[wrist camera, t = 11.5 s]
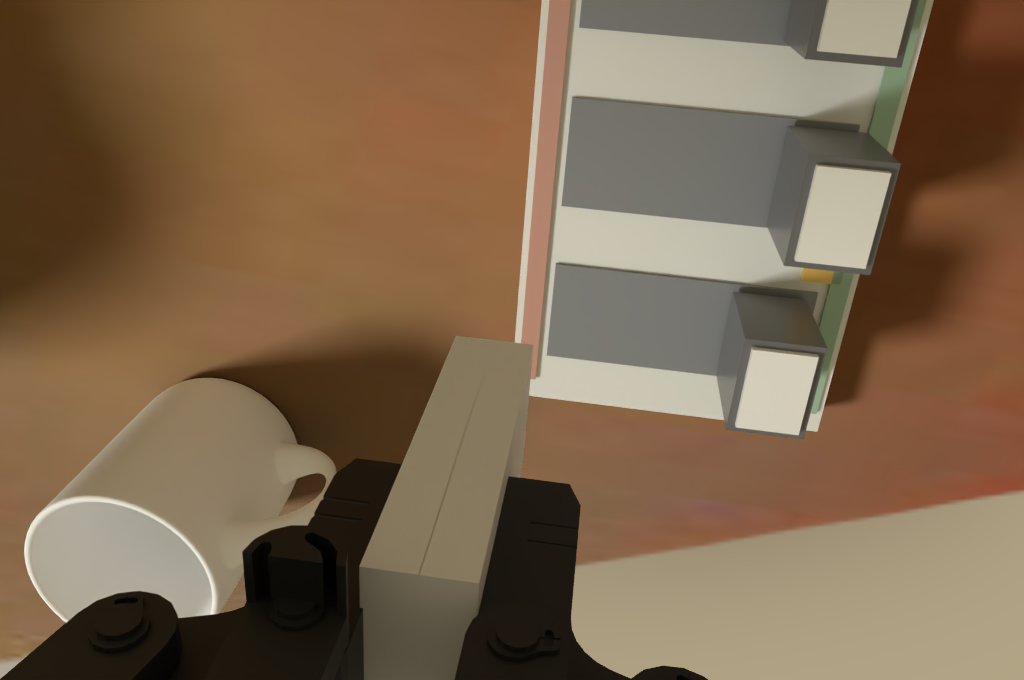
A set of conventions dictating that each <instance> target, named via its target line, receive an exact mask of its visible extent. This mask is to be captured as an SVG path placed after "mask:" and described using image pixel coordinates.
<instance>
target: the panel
mask: <svg viewBox="0 0 1024 680" xmlns="http://www.w3.org/2000/svg"><path fill="white" fill-rule="evenodd" d="M933 2H934V0H919V3H918V7H917V11H916V15H915V18H914V22H913V26H912V30H911V34H910V37H909V41H908V45H907V49H906V53H905V56H904V60H903V64H902V68H899V67H888V66H876V65H865V64H854V63H843V62H832V61H821V60H810V59H804V58H803V57H802V56H801V55H799V54H798V53H797V52H796V51H795V50H794V49H792V48H791V47H790V46H789V45H788V44H786V43H785V42H784V41H783V40H784V35H785V30H786V25H787V20H788V15H789V10H790V5H791V0H542V5H541V18H540V31H539V43H538V56H537V69H536V81H535V94H534V106H533V119H532V132H531V144H530V157H529V170H528V182H527V195H526V208H525V220H524V233H523V245H522V258H521V271H520V283H519V296H518V309H517V321H516V334H515V343H522V344H531V345H534V346H533V357H532V368H531V379H530V390H529V396H536V397H544V398H552V399H560V400H568V401H576V402H584V403H592V404H600V405H608V406H616V407H624V408H632V409H640V410H648V411H656V412H664V413H672V414H680V415H688V416H696V417H704V418H712V419H720V420H724V416H723V411H722V405H721V399H720V394H719V388H718V382H717V377H716V374H717V369H718V364H719V359H720V354H721V349H722V344H723V339H724V334H725V329H726V324H727V319H728V314H729V309H730V304H731V299H732V294H733V292H741V293H750V294H759V295H768V296H777V297H786V298H795V299H803V300H806V301H807V303H808V305H809V307H810V310H811V312H812V314H813V316H814V319H815V321H816V323H817V325H818V328H819V330H820V332H821V334H822V337H823V339H824V341H825V343H826V346H827V348H828V349H827V353H826V356H825V360H824V364H823V368H822V372H821V375H820V379H819V383H818V387H817V391H816V394H815V398H814V402H813V406H812V410H811V413H810V417H809V421H808V425H807V429H806V430H808V431H816V432H817V431H818V427H819V423H820V420H821V416H822V412H823V409H824V405H825V401H826V398H827V394H828V390H829V386H830V383H831V379H832V375H833V372H834V368H835V364H836V361H837V357H838V353H839V349H840V346H841V342H842V338H843V335H844V331H845V327H846V324H847V320H848V316H849V312H850V309H851V305H852V301H853V298H854V294H855V290H856V287H857V283H858V279H859V275H860V274H854V273H845V272H836V271H827V270H818V269H808V268H799V267H790V266H784V265H783V263H782V261H781V258H780V256H779V253H778V251H777V249H776V246H775V244H774V242H773V239H772V237H771V235H770V232H769V230H768V228H767V221H768V216H769V211H770V207H771V202H772V197H773V192H774V188H775V183H776V178H777V174H778V169H779V164H780V159H781V155H782V150H783V145H784V141H785V136H786V131H787V126H788V125H789V126H800V127H810V128H821V129H831V130H841V131H852V132H862V133H869V134H870V135H871V136H872V137H873V138H874V139H875V140H876V141H878V142H879V143H880V144H881V145H882V146H883V147H884V148H885V149H886V150H887V151H888V152H889V153H890V154H891V155H892V153H893V150H894V146H895V142H896V139H897V135H898V131H899V128H900V124H901V120H902V116H903V113H904V109H905V105H906V102H907V98H908V94H909V91H910V87H911V83H912V79H913V76H914V72H915V68H916V65H917V61H918V57H919V54H920V50H921V46H922V42H923V39H924V35H925V31H926V28H927V24H928V20H929V17H930V13H931V9H932V5H933Z"/></svg>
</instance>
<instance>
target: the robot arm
mask: <svg viewBox="0 0 1024 680" xmlns="http://www.w3.org/2000/svg"><path fill="white" fill-rule="evenodd" d="M533 346H534V345H531V344H522V343H514V342H506V341H497V340H489V339H480V338H472V337H463V336H456V337H455V339H454V341H453V344H452V346H451V349H450V351H449V353H448V356H447V358H446V360H445V363H444V365H443V368H442V370H441V372H440V375H439V377H438V380H437V382H436V384H435V387H434V389H433V392H432V394H431V396H430V399H429V401H428V403H427V406H426V408H425V411H424V413H423V415H422V418H421V420H420V423H419V425H418V427H417V430H416V432H415V435H414V437H413V439H412V442H411V444H410V446H409V449H408V451H407V454H406V456H405V458H404V461H403V463H402V464H395V463H388V462H380V461H372V460H365V459H357V458H356V459H355V460H354V461H352V462H351V463H350V464H348V465H347V466H346V467H344V468H343V469H342V470H340V471H339V472H338V473H336V474H335V475H334V477H333V479H332V480H331V482H330V484H329V486H328V488H327V490H326V492H325V494H324V495H323V500H321V501H320V503H319V505H318V507H317V509H316V511H315V512H314V517H312V518H311V520H310V522H309V524H308V525H290V526H286V527H282V528H278V529H274V530H270V531H268V532H267V533H265V534H263V535H261V536H259V537H257V538H255V539H254V540H253V541H252V542H251V543H250V544H249V545H248V546H247V547H246V548H245V549H244V550H243V551H242V556H243V567H244V578H245V589H246V600H247V602H246V604H245V606H244V607H242V608H239V609H236V610H234V611H230V612H224V613H219V614H213V615H203V616H194V617H185V618H178V615H177V613H176V611H175V609H174V607H173V605H172V603H171V602H170V601H168V600H167V599H165V598H163V597H162V596H160V595H159V594H154V593H149V592H143V591H133V592H124V593H117V594H114V595H111V596H108V597H105V598H103V599H100V600H97V601H95V602H94V603H92V604H91V605H89V606H88V607H86V608H84V609H83V610H81V611H80V612H78V613H77V614H76V615H75V616H74V617H72V618H71V619H70V620H69V621H68V622H67V623H65V624H64V625H63V626H62V627H61V628H60V629H58V630H57V631H56V632H55V633H54V634H53V635H51V636H50V637H49V638H48V639H47V640H46V641H44V642H43V643H42V644H41V645H40V646H38V647H37V648H36V649H35V650H34V651H33V652H31V653H30V654H29V655H28V656H27V657H26V658H24V659H23V660H22V661H21V662H20V663H19V664H17V665H16V666H15V667H14V668H13V669H12V670H11V671H9V672H8V673H7V674H6V675H5V676H3V677H2V678H1V679H0V680H708V679H706V678H705V677H703V676H701V675H699V674H696V673H694V672H691V671H689V670H687V669H685V668H678V667H669V666H660V667H655V668H650V669H645V670H643V671H641V672H640V673H639V674H637V675H636V676H634V677H633V678H632V679H630V678H628V677H625V676H623V675H621V674H618V673H616V672H614V671H612V670H610V669H608V668H606V667H604V666H603V665H601V664H599V663H597V662H596V661H595V660H593V659H592V658H591V657H590V656H589V655H588V654H586V653H585V652H584V651H583V649H582V648H581V647H580V645H579V644H578V642H577V641H576V639H575V637H574V634H573V631H572V627H571V609H572V597H573V586H574V574H575V563H576V550H577V540H578V528H579V517H580V504H579V502H578V500H577V498H576V496H575V494H574V492H573V490H572V488H571V486H570V485H569V484H564V483H556V482H548V481H541V480H533V479H526V478H520V475H521V470H522V465H523V456H524V445H525V434H526V423H527V412H528V401H529V390H530V379H531V368H532V357H533Z"/></svg>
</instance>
